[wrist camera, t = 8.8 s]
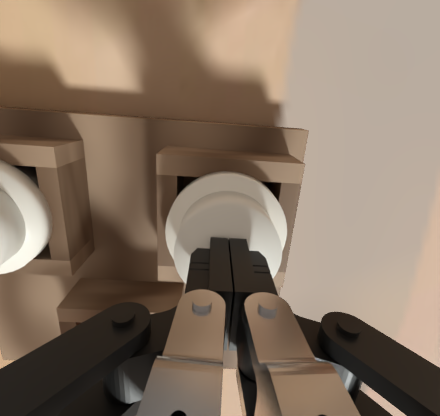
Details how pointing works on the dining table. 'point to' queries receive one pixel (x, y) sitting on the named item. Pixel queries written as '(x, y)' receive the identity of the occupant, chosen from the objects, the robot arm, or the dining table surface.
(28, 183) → the knob
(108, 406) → the robot arm
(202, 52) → the dining table surface
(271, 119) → the dining table surface
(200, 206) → the knob
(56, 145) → the mount block
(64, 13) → the dining table surface
